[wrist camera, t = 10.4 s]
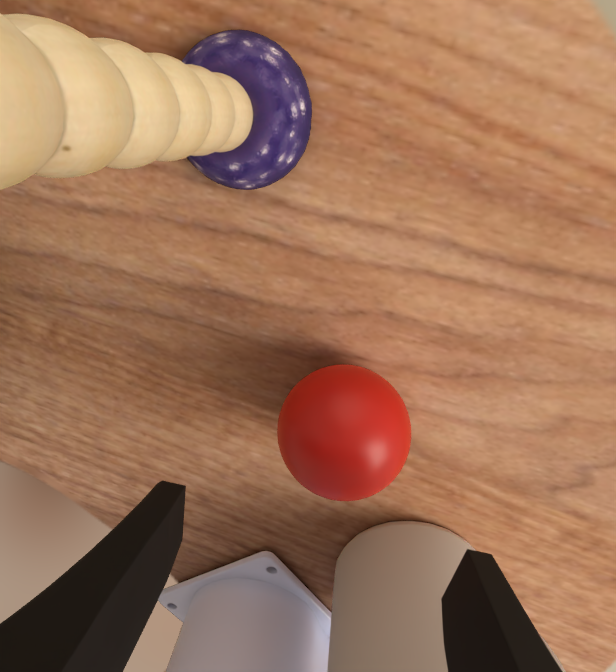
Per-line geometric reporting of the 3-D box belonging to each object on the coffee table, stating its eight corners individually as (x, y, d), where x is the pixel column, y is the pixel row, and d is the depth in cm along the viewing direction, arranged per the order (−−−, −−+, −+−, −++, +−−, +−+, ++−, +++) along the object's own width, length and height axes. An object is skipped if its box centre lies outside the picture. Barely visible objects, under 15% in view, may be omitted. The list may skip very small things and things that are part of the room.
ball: (417, 394, 18) (451, 494, 14) (322, 442, 19) (330, 544, 15) (356, 317, 15) (377, 411, 12) (254, 377, 17) (244, 478, 13)
